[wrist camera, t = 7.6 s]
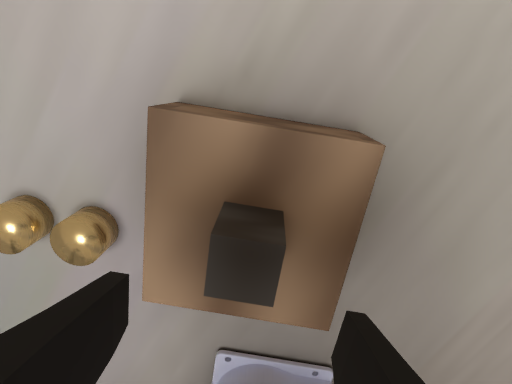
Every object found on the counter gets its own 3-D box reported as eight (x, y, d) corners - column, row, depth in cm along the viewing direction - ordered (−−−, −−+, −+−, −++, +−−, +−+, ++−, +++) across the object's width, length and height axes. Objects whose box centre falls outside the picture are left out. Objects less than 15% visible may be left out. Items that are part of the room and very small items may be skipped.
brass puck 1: (52, 199, 20) (25, 213, 18) (55, 239, 21) (30, 258, 19) (6, 191, 20) (-27, 204, 18) (12, 232, 21) (-19, 249, 19)
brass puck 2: (118, 210, 20) (99, 225, 18) (118, 250, 21) (100, 269, 19) (72, 202, 20) (48, 217, 18) (75, 243, 21) (51, 261, 19)
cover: (359, 132, 18) (422, 164, 10) (317, 283, 21) (342, 388, 14) (177, 102, 18) (107, 112, 10) (167, 259, 21) (111, 351, 14)
